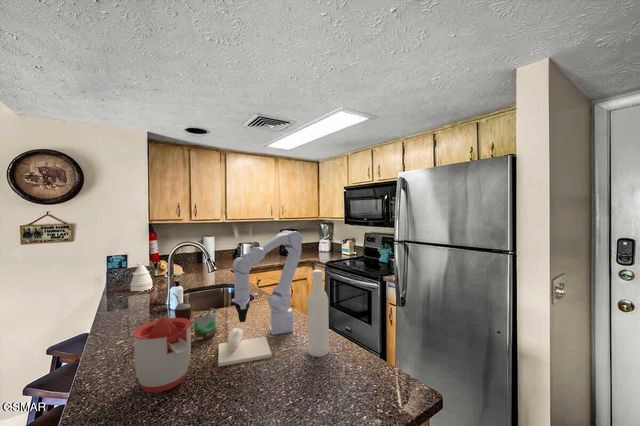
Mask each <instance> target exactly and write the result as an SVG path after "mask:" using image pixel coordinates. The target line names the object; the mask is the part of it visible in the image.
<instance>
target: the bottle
mask: <svg viewBox="0 0 640 426" xmlns="http://www.w3.org/2000/svg"><path fill="white" fill-rule="evenodd" d="M311 276H312V289H311V291H310V292H309V293H308V296H307V299H306V300H307V301H306V302H307V303H306V304H307V305H306V308H307V317H306V318H307V353H308V354H309V355H310V356H312V357H315V358H317V357H324V356H327V355H328V354H329V353H330V352H329V351H330V340H329V338H330V336H329V335H330V333H329V331H330V329H329V327H330V326H329V325H330V324H329V319H330V318H329V297H328V294H327V292H326V291H325V290H324V289H323V276H324V275H323V271H322V270H321V269H314V270H312V274H311Z"/></svg>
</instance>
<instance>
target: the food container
mask: <svg viewBox="0 0 640 426" xmlns="http://www.w3.org/2000/svg"><path fill="white" fill-rule="evenodd" d="M217 317H218V311H217V310H216V308H213V307H210V308H209V310H208V311H206V312H203V313H201V314H200V315H199V316H198V317H193V319H192V323H193V325H194V326H193V327H194V337H195V338H194V339H195V342H204V341H208V340H211V339H212V338H214V337H215V336H216V322H217V321H216V319H217Z"/></svg>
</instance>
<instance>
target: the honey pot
mask: <svg viewBox="0 0 640 426" xmlns="http://www.w3.org/2000/svg"><path fill="white" fill-rule="evenodd" d="M136 266H137V268H136V270H135V271H134V272H132V275H133V277H132V278H131V282H130V292H132V291H141V292H145V291H144V290H147V291H149V290H148V289H150V290H152V289H153V288H152V287H153V279H152V277H151V275H150V271H149V270H148V269H147V267H146V266H145V265H143V264H142V263H141V262H136ZM151 288H152V289H151Z"/></svg>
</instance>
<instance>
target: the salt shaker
mask: <svg viewBox="0 0 640 426" xmlns="http://www.w3.org/2000/svg"><path fill="white" fill-rule="evenodd" d="M243 332H244V331H243V330H242V329H241V328H239V327H233V328H232V330H230V332H229V335H228V341H227V342H228V350H229V351H234V350H235V349H236V347H237V346H238V344H239V343H240V341H241V340H243V336H244V335H243V334H244V333H243Z"/></svg>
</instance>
